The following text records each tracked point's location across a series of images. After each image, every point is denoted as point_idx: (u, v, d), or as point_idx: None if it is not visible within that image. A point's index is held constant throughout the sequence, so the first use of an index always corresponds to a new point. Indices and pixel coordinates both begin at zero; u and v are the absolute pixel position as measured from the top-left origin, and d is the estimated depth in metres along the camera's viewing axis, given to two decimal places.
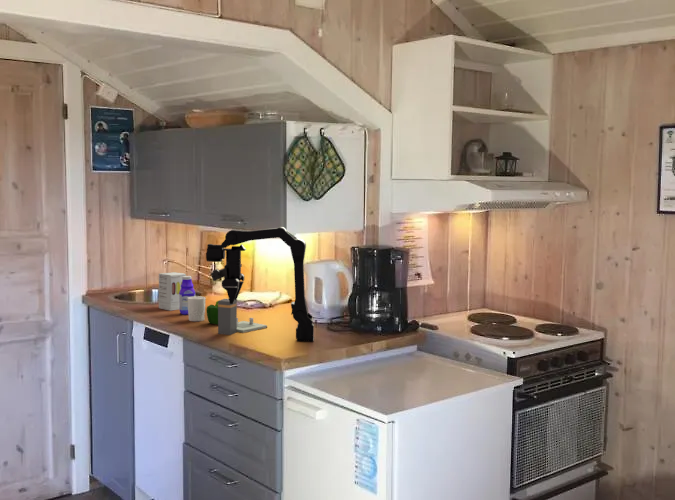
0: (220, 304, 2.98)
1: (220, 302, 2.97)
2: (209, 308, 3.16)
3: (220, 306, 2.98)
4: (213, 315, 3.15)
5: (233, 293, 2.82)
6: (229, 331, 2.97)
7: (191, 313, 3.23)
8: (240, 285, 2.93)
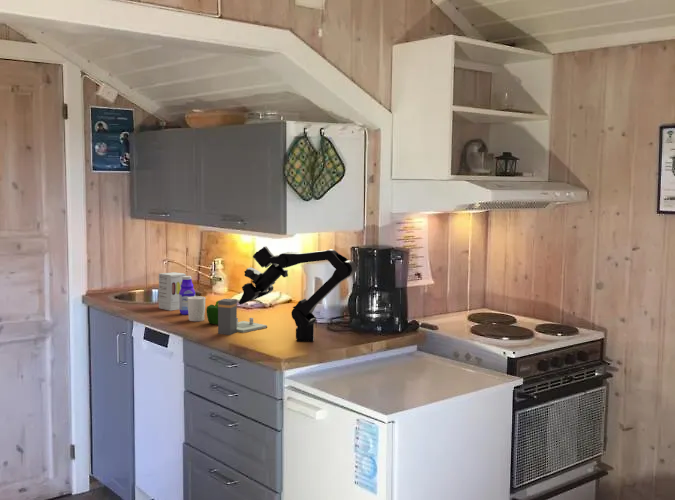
0: (220, 304, 2.98)
1: (220, 302, 2.97)
2: (209, 308, 3.16)
3: (220, 306, 2.98)
4: (213, 315, 3.15)
5: (246, 299, 2.90)
6: (229, 331, 2.97)
7: (191, 313, 3.23)
8: (262, 294, 3.00)
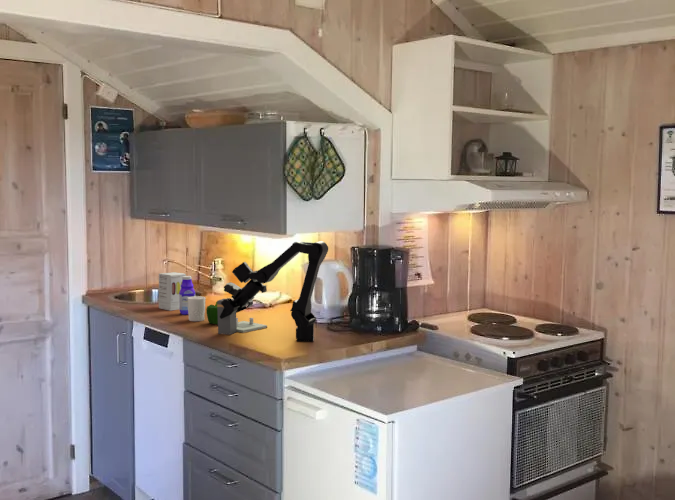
0: (219, 304, 2.98)
1: (219, 302, 2.98)
2: (209, 308, 3.16)
3: (219, 306, 2.98)
4: (213, 315, 3.15)
5: (227, 313, 2.95)
6: (229, 331, 2.97)
7: (191, 313, 3.23)
8: (240, 309, 3.02)
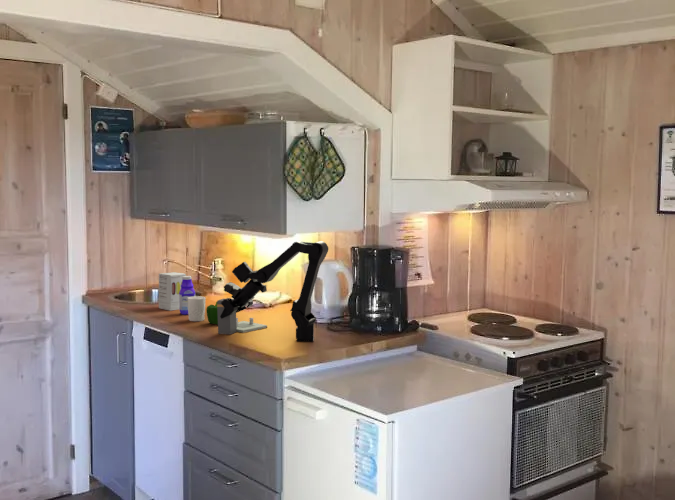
0: (219, 304, 2.98)
1: (219, 302, 2.98)
2: (209, 308, 3.16)
3: (219, 306, 2.98)
4: (213, 315, 3.15)
5: (227, 313, 2.95)
6: (229, 330, 2.97)
7: (191, 313, 3.23)
8: (240, 309, 3.02)
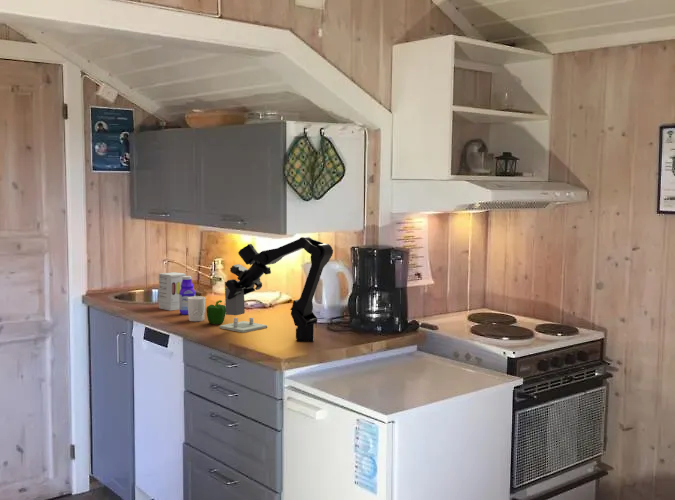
0: (226, 286, 3.03)
1: None
2: (209, 308, 3.16)
3: (226, 287, 3.03)
4: (213, 315, 3.15)
5: None
6: (235, 312, 3.02)
7: (191, 313, 3.23)
8: (248, 291, 3.06)
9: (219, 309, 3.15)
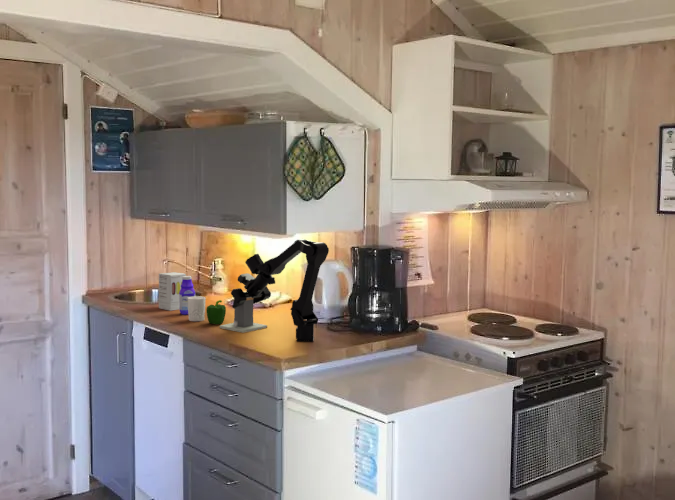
0: None
1: None
2: (209, 308, 3.16)
3: None
4: (213, 315, 3.15)
5: (237, 303, 3.04)
6: (242, 323, 3.08)
7: (191, 313, 3.23)
8: (259, 300, 3.12)
9: (219, 309, 3.15)
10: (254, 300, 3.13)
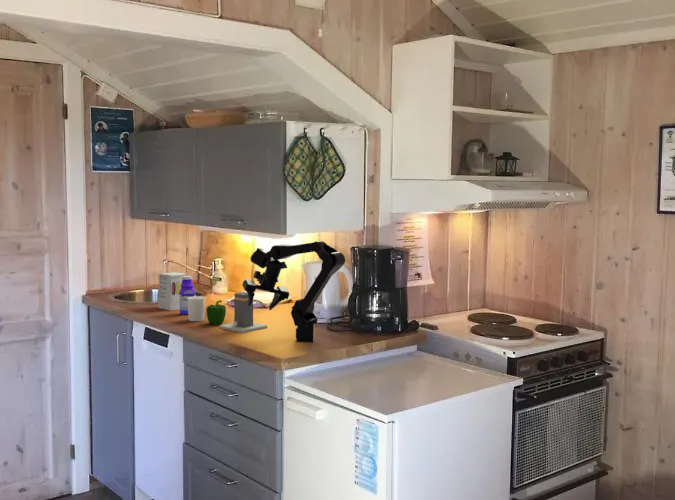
0: (236, 297, 3.09)
1: (236, 295, 3.09)
2: (209, 308, 3.16)
3: (236, 299, 3.09)
4: (213, 315, 3.15)
5: (249, 296, 2.95)
6: (242, 323, 3.08)
7: (191, 313, 3.23)
8: (276, 299, 2.99)
9: (219, 309, 3.15)
10: (273, 302, 3.01)
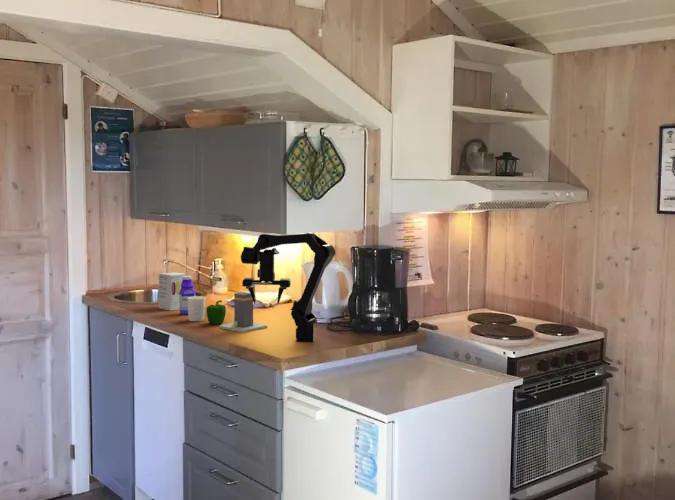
0: (236, 297, 3.09)
1: (236, 295, 3.09)
2: (209, 308, 3.16)
3: (236, 299, 3.09)
4: (213, 315, 3.15)
5: None
6: (242, 323, 3.08)
7: (191, 313, 3.23)
8: None
9: (219, 309, 3.15)
10: (278, 295, 2.94)
